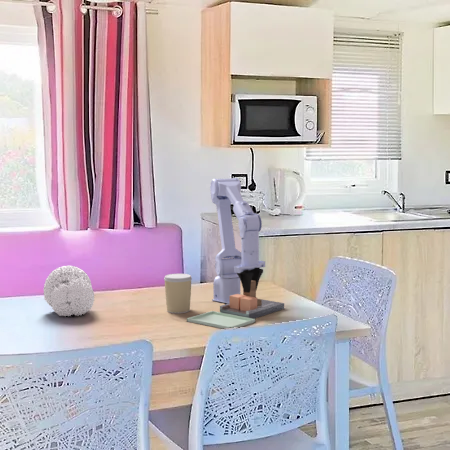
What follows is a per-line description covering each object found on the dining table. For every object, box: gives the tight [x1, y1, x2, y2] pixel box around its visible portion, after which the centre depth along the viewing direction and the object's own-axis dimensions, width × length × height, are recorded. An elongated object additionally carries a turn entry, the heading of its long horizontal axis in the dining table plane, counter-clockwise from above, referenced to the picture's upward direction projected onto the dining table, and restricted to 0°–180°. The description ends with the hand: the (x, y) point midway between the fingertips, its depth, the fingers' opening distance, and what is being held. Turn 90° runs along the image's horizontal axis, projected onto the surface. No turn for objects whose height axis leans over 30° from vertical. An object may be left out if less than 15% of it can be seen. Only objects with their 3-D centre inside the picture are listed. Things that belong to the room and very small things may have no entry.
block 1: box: [230, 293, 246, 309], centre depth 249 cm, size 4×4×4 cm
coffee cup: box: [163, 273, 193, 314], centre depth 254 cm, size 9×9×12 cm
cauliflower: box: [42, 265, 95, 317], centre depth 251 cm, size 20×18×16 cm
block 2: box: [240, 296, 258, 311], centre depth 246 cm, size 4×4×4 cm
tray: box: [186, 310, 256, 330], centre depth 239 cm, size 18×13×1 cm
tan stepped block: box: [242, 280, 263, 307], centre depth 250 cm, size 8×3×8 cm, turn 48°
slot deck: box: [219, 298, 285, 320], centre depth 252 cm, size 12×20×3 cm, turn 141°
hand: (250, 291), depth 250 cm, fingers closed on tan stepped block, 3 cm apart
